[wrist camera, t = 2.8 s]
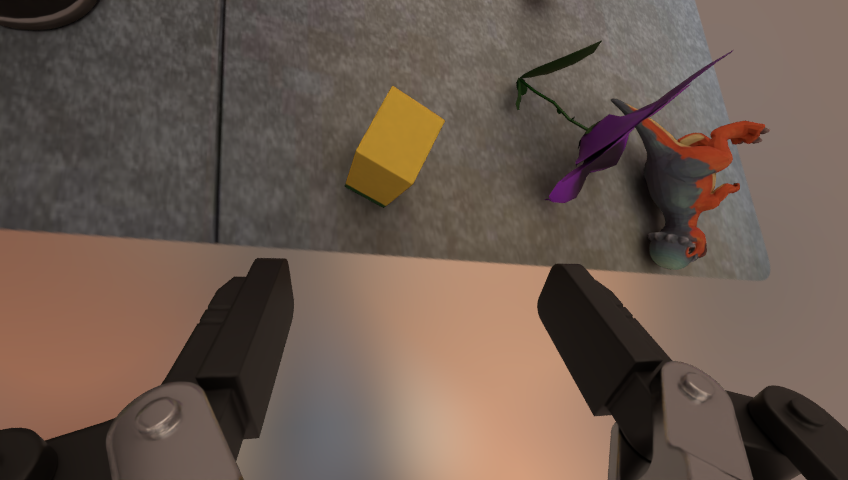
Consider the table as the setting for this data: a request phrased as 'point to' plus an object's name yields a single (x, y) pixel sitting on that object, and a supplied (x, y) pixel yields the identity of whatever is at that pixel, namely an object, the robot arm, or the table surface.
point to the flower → (597, 127)
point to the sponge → (393, 148)
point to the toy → (686, 182)
